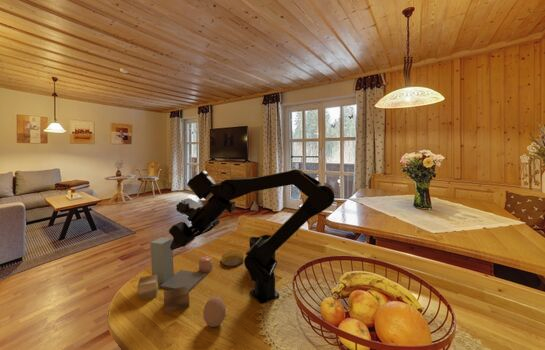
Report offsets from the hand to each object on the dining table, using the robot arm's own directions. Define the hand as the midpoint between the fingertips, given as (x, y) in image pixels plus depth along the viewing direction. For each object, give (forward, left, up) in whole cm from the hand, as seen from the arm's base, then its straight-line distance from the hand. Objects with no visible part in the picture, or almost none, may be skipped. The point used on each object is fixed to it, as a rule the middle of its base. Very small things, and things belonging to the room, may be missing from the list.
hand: (181, 242), depth 73 cm
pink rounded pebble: (+3, -9, -13) cm, 16 cm away
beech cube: (-1, +10, -13) cm, 16 cm away
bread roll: (+4, -19, -13) cm, 24 cm away
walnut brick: (-11, +4, -13) cm, 18 cm away
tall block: (+6, +5, -13) cm, 15 cm away
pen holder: (-6, -27, -13) cm, 30 cm away
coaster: (0, -1, -13) cm, 13 cm away
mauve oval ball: (-24, -2, -13) cm, 27 cm away
